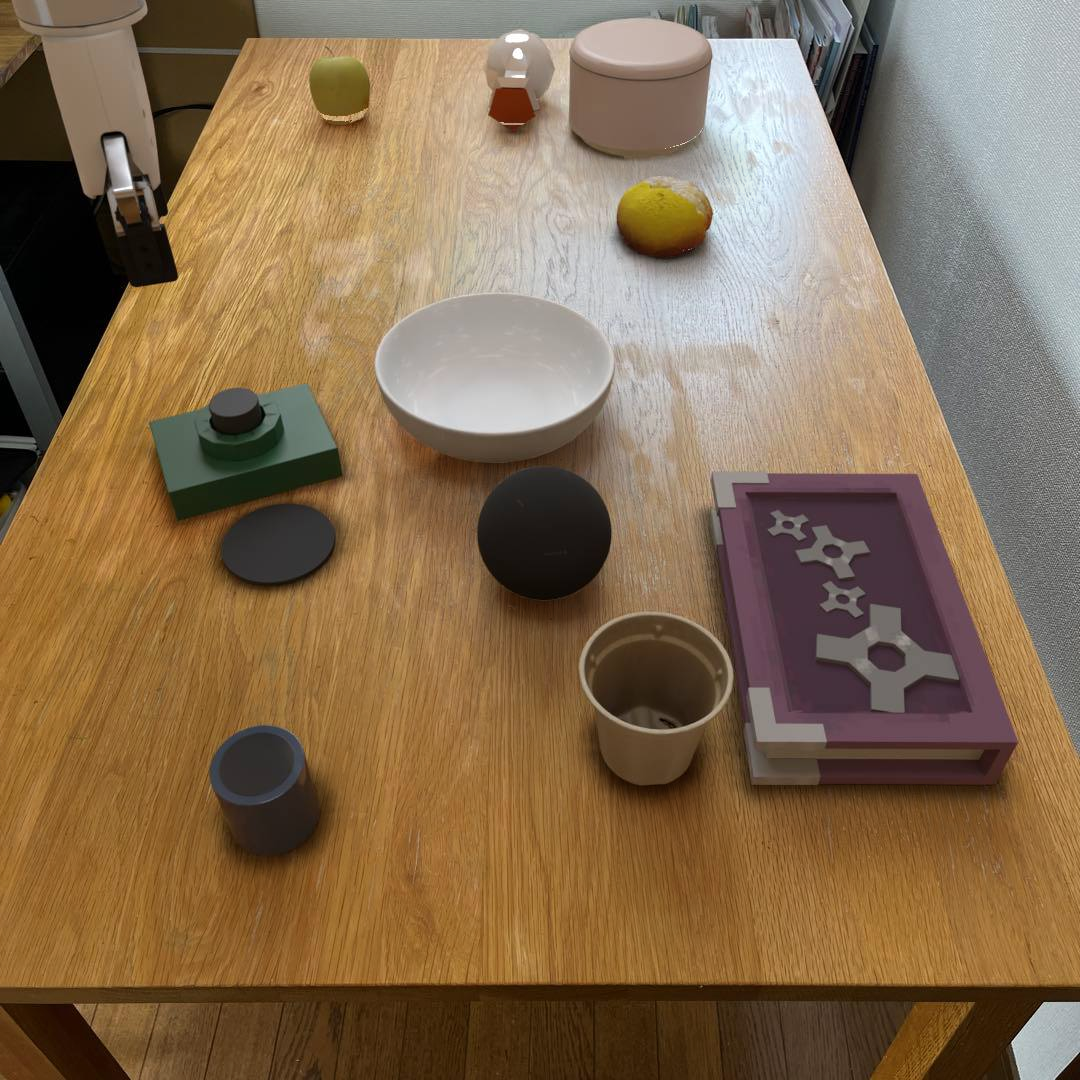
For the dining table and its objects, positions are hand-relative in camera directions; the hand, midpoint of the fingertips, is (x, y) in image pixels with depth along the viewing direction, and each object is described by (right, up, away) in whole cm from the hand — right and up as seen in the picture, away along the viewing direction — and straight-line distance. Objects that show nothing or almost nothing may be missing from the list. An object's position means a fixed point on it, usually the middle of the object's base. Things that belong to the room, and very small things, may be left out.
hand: (151, 248), depth 75 cm
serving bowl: (+24, -10, +21) cm, 33 cm away
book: (+50, -28, +2) cm, 57 cm away
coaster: (+7, -21, +9) cm, 24 cm away
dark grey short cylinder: (+3, -11, +13) cm, 17 cm away
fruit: (+42, +14, +44) cm, 62 cm away
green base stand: (+3, -14, +16) cm, 22 cm away
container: (+41, +33, +64) cm, 83 cm away
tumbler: (+11, -39, -8) cm, 41 cm away
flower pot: (+35, -35, -5) cm, 50 cm away
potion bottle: (+25, +38, +69) cm, 82 cm away
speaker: (+28, -24, +6) cm, 38 cm away
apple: (+1, +36, +67) cm, 76 cm away
